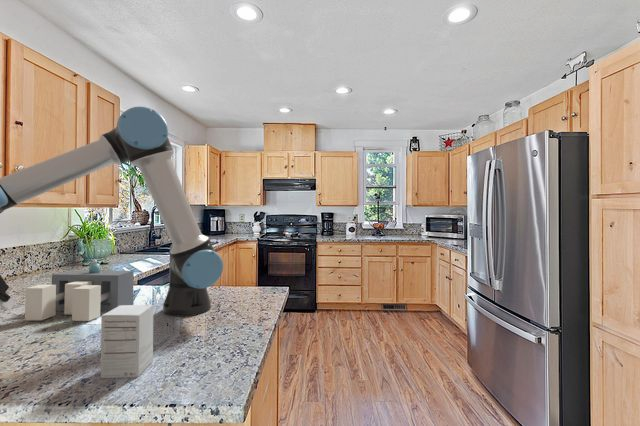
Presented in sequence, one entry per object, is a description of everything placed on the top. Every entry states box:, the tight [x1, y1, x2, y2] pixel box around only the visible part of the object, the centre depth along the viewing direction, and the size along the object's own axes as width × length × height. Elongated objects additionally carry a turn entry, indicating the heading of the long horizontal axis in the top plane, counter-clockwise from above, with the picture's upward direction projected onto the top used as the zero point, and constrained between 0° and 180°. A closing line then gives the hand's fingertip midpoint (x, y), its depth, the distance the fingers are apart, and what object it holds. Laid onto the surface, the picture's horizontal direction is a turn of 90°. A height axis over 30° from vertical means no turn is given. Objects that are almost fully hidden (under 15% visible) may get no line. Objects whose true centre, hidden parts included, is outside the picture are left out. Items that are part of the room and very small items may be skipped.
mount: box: [51, 269, 135, 315], centre depth 110 cm, size 22×14×12 cm, turn 90°
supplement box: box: [100, 304, 154, 379], centre depth 68 cm, size 7×7×13 cm
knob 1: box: [24, 284, 65, 321], centre depth 103 cm, size 5×13×10 cm, turn 0°
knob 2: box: [71, 285, 110, 322], centre depth 103 cm, size 5×13×10 cm, turn 0°
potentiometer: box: [88, 259, 101, 273], centre depth 112 cm, size 3×3×4 cm
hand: (10, 306), depth 90 cm, fingers closed
